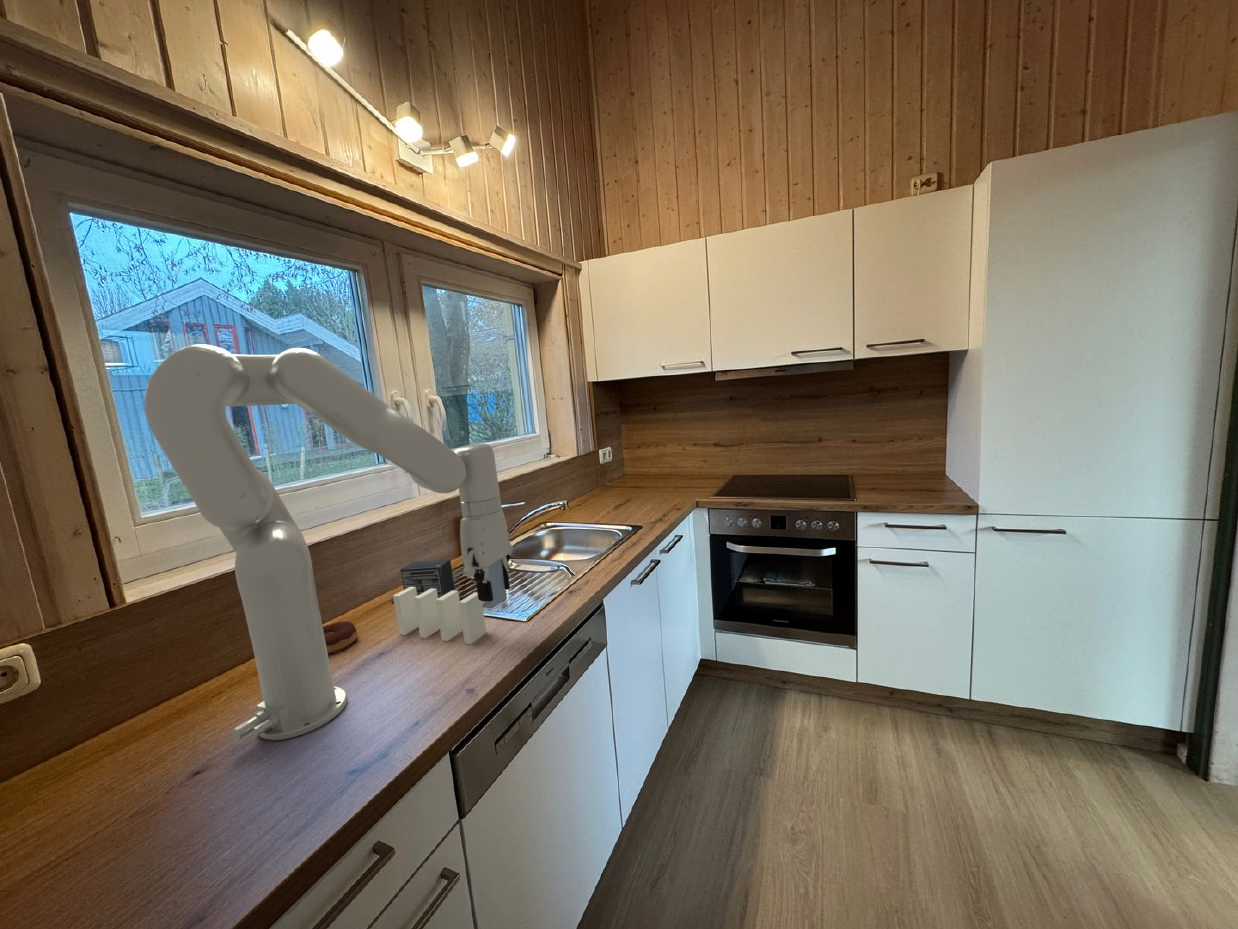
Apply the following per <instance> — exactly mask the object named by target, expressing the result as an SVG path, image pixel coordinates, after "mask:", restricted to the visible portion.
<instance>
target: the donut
mask: <svg viewBox="0 0 1238 929" xmlns="http://www.w3.org/2000/svg"><path fill="white" fill-rule="evenodd" d="M322 626H323V625H322ZM323 632H324V637H325V642H326V648H327V653H328V655H329V654H332V653H336V652H339V651H341V650H344V649H345V647H346V648H347V647H349V646H350V645H352V643H353V642H355V640H356V639H357V637H358V635H359V634H358V632H357V628H356V626H355V624H353V623H352V622H350V621H347V620H345V621H337V622H334V623H330V624H327V625H324V626H323Z"/></svg>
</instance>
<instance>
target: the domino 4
mask: <svg viewBox="0 0 1238 929" xmlns="http://www.w3.org/2000/svg"><path fill="white" fill-rule="evenodd" d="M459 607H460V614H461V621H462V628H463V631H462V633H463V640H464V644H466V645H472V644H474V643H475V642H477V641H478V640H479V639H480V638H481V637H483V636H484V635H485V634H487V627H486V622H485V621H486V620H485V614H484V606H483V601H480V600H479V599H478V593H477V592H476V591H475V592H473V593H471V594H470V595H468V596H466V597H465V598H463V599H462V600H460V602H459Z"/></svg>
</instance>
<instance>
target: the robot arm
mask: <svg viewBox="0 0 1238 929" xmlns="http://www.w3.org/2000/svg"><path fill="white" fill-rule="evenodd" d="M145 389H146V390H145V394H144V411H145V416H146V419H147V420H146V421H147V423H148V425H149V428H150V430H151V432H152V434H153V436H154V437H155V440H156V441H157V443H158V445H159V446H160V448H161V449H162V451H163V453H164V454H165V455H166V458H167V459H168V461H169V462H170V465H171V466H172V468H173V469H174V471H175V473H176V475H177V477H178V478H179V479H180V481H181V483H182V484H183V486H184V487H185V488H186V490H187V492H188V494H189V495H190V497H191V498H192V500H193V503H194V504H195V506H196V507H197V509H198V511H199V513H200V514H201V516H202V518H204V519H205V520H206V521H207V522H208V523H209V524H211V525H213V526H215V527H216V528H219V529H220V530H221V533H222V534H223V536H224V537H225V538H226V540H227V542H228V543H229V545H230V547H232V549H233V551H234V552H235V559H234V560H235V561H234V571H235V572H234V573H235V574H234V575H235V579H236V583H237V588H238V591H239V594H240V598H241V601H242V606H243V611H244V615H245V619H246V624H247V627H248V632H249V638H250V641H251V645H252V650H253V655H254V659H255V660H254V661H255V665H256V669H257V674H258V675H257V676H258V679H259V684H260V689H261V693H262V697H263V698H262V699H263V701H262V702H260V703H258V704H257V705H256V707H257V712H255V713H254V714H253V716H252V717H251V718H250V719H247V720H246V721H244V722H242V723H241V724H239V725H237V726H235V727H234V728H232V729H231V735H232V738H233V739H234V740H235V741H238V742H239V741H240V740H242V739H243V738H245V737H247V736H248V735H250V734H251V733H252V735H253V736H254V737H260V738H262V739H265V740H269V741H280V740H287V739H292V738H296V737H299V736H301V735H305V734H307V733H311V732H312V731H314V730H316V729H318V728H320V727H322V726H324V725H326V724H327V723H329V722H330V721H331V720H332V719H334V718H336V717H337V716H338V715H339V714H340V713H341V712H342V711H343V710H344V708H345V706H346V705H347V702H348V697H347V693H346V690H345V689H343V688H341V687H338V686H334V685H335V684H334V681H333V674H332V669H331V665H330V659H329V654H328V653H327V648H326V642H325V637H324V632H323V623H322V617H321V611H320V607H319V600H318V596H317V589H316V584H315V577H314V568H313V562H312V557H311V553H310V550H309V547H308V543H307V542H306V540H305V537H304V535H303V533H302V531H301V530H300V528H299V526H298V525H297V523H296V522H295V520H294V518H293V517H292V515H291V513H290V512H289V510H288V508H287V506H286V505H285V504H284V502H283V500H282V498H281V496H280V495H279V493H278V491H277V490H276V488H275V487H274V485H273V483H272V481H271V480H270V478H269V477H268V476H267V475H266V474H265V473H264V472H262V470H260V469H258V468H256V466H255V464H254V463H253V461H252V459H251V458H250V456H249V455H248V453H247V452H246V450H245V449H244V447H243V445H242V443H241V441H240V439H239V437H238V435H237V434H236V433H235V431H234V429H233V428H232V426H231V424H230V422H229V420H228V417H227V412H226V409H227V408H228V407H251V406H255V407H259V406H281V405H283V406H284V405H295V404H296V405H297V406H298V407H300V409H301V408H302V409H303V410H304V411H306V412H307V413H309V414H311V415H312V416H313V417H315V419H318V420H319V421H321V422H322V423H323V424H325V425H326V426H328V427H329V428H331V429H332V430H334V431H336V432H337V433H338V434H340V435H341V436H343V437H344V438H345V439H347V440H348V441H349V442H352V443H353V444H355V445H357V446H358V447H360V448H362V449H364V450H367V451H369V452H371V453H374V454H376V455H378V456H380V457H382V458H384V459H385V460H388V461H390V463H392V464H394V465H396V466H397V467H398V468H400V469H401V470H402V471H403V470H404V471H405V472H406V473H407V474H409V475H410V477H411V479H412V481H413V482H414V483H415V484H417V485H418V486H420V487H421V488H424V489H427V490H429V491H432V492H434V493H437V494H449V493H453V492H456V491H457V490H458V493H459V499H460V505H461V513H462V518H461V519H460V529H459V530H460V531H459V534H460V535H459V536H460V537H459V538H460V539H459V540H460V549H461V557H462V558H461V560H462V564H463V565H462V566H463V571H462V574H463V576H465V577H467V578H469V579H470V580H472V582H473V583H475V586H476V591H477V593H478V599H479V600H480V601H482V602H484V601H489V602H491V601H492V600H493V593H492V586H491V581H488V570H489V566H490V565H492V564H494V563H495V562H497V561H499V560H500V559H501V562H502V568H503V577H504V584H505V589H506V591H508V590H509V589H511V585H510V578H509V571H508V570H509V569H510V565H509V562H510V559H511V555H512V553H513V550H514V547H513V545H512V544H511V541H510V533H509V530H508V524H507V521H506V517H505V514H504V510H503V507H502V500H501V495H500V486H499V485H500V484H499V478H498V471H497V467H496V466H497V464H496V459H495V452H494V448H493V447H492V445H490V444H487V443H477V444H476V443H475V444H468V445H463V446H460V447H457V448H450V447H449V446H447V445H446V444H445V443H443V442H442V441H441V440H439V439H438V438H437V437H435V436H434V435H433V434H431V433H430V432H428V431H427V430H426V429H424V428H423V427H421V426H420V425H418V424H416V423H415V422H414V421H412V420H410V419H409V418H408V417H406V416H404V415H403V414H402V413H401V412H399V411H398V410H396V409H395V408H394V407H392V406H391V405H389V404H387V403H385V401H383V400H382V399H380V398H379V397H377V395H375V394H373V393H372V392H371V391H369V390H368V389H367V388H366V387H363V386H362V385H361V384H359V382H357V381H356V380H354V378H352V377H351V376H349V375H348V374H347V373H345V372H344V371H343V370H341V369H340V368H339V367H337V366H336V365H335V364H333V363H332V362H330V361H329V360H328V359H327V358H325V357H324V356H322V355H321V354H319V353H318V352H316V351H313V350H311V349H308V348H304V347H295V348H289V349H287V350H285V351H282V352H281V353H280V354H232V353H230V352H229V351H227V350H226V349H224V348H222V347H218V346H214V345H211V344H203V343H202V344H192V345H188V346H185V347H182V348H179V349H177V350H176V351H174V352H173V353H171V354H170V355H168V357H166V358H165V359H164V360H163V361H162V362H161V363H160V364H159V366H158V367H157V368H156V369H155V371H154V372H153V373H152V375H151V376H150V378H149V381H148V383H147V386H146V388H145ZM480 570H482V574H480Z"/></svg>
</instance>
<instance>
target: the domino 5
mask: <svg viewBox="0 0 1238 929" xmlns="http://www.w3.org/2000/svg"><path fill="white" fill-rule="evenodd" d="M479 573H480V574H482V570H479ZM488 581H491V586H492V593H493V600H492V601H491V602H489V601H483V602H484V603H483V604H484V607H485V608H486V609H493V608H494V607H496V606H497V605H499V604H500V603H501V602H503V601H504V600H505V599H507V598H508V596H507V590H506V589H505V584H504V577H503V568H502V562H501V559H500V560H499V561H497V562H495V563H494V564H492V565H490V566H489V570H488Z"/></svg>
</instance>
